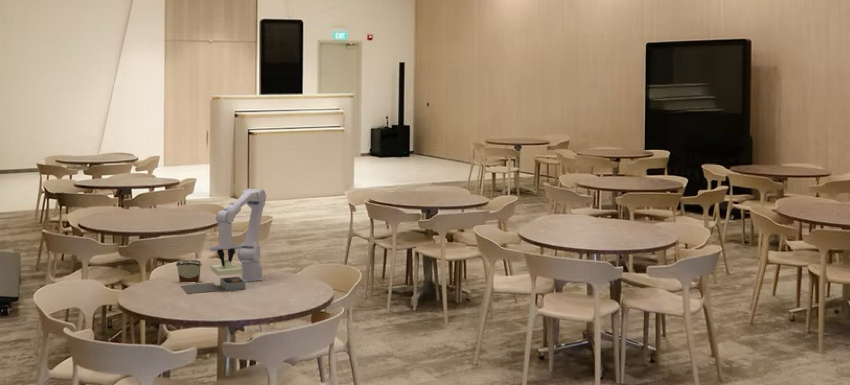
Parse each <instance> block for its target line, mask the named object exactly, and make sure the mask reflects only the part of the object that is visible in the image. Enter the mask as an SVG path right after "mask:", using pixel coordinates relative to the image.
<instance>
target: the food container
mask: <svg viewBox="0 0 850 385" xmlns="http://www.w3.org/2000/svg"><path fill="white" fill-rule="evenodd" d="M175 266H176V267H177V274H178V281H179V283H180V282H195V283H194V284H199V283H200V279H201V277H200V276H201V267H202V266H203V265H202V262H201V260H197V259H184V260H178V261H176V264H175ZM198 282H199V283H198Z"/></svg>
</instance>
